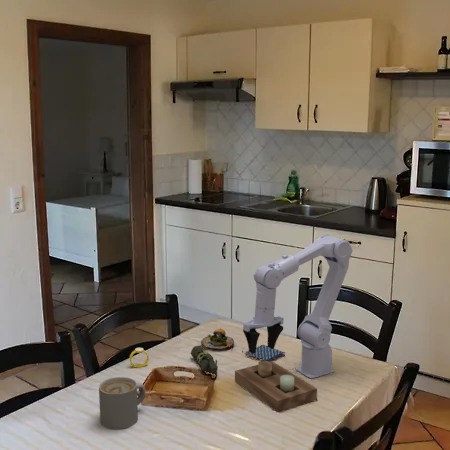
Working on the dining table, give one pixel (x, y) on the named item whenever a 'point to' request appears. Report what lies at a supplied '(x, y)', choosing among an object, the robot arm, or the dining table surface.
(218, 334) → the burger
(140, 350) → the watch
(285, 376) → the sage peg
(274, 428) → the dining table surface
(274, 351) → the woven mat
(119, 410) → the coffee mug
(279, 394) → the walnut block
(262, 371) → the maple peg
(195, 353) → the dark green rolled bundle
